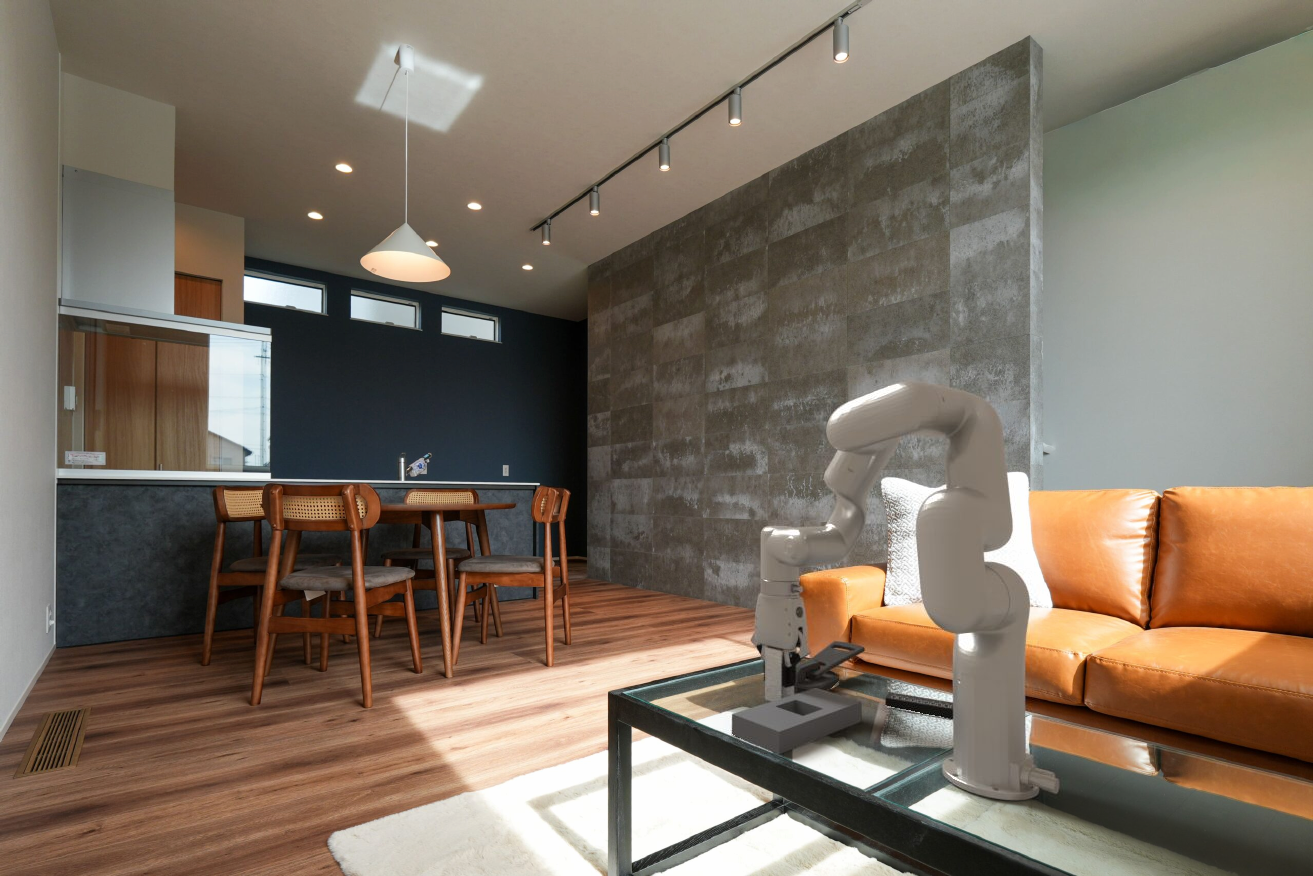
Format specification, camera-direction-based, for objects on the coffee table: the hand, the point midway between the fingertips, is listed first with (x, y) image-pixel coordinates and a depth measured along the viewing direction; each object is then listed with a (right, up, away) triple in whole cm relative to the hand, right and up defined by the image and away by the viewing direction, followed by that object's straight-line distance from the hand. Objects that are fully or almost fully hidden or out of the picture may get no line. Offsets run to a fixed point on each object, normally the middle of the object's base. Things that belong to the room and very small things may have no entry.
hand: (779, 682), depth 128 cm
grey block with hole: (+1, -3, -13) cm, 14 cm away
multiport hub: (+28, -5, -3) cm, 28 cm away
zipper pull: (+12, -6, +14) cm, 20 cm away
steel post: (0, -3, 0) cm, 3 cm away
